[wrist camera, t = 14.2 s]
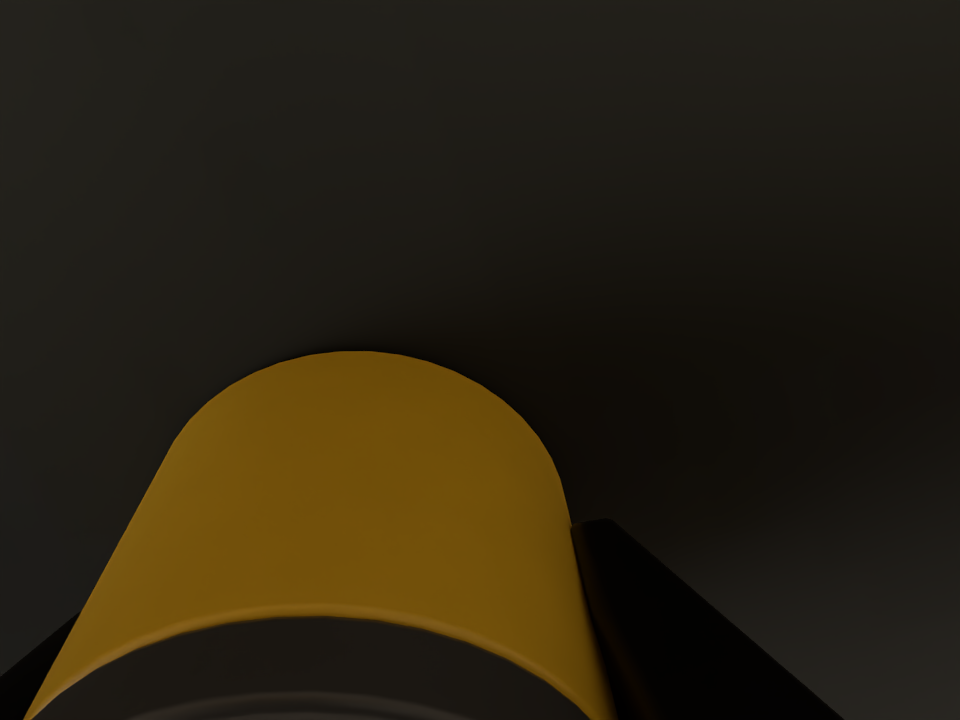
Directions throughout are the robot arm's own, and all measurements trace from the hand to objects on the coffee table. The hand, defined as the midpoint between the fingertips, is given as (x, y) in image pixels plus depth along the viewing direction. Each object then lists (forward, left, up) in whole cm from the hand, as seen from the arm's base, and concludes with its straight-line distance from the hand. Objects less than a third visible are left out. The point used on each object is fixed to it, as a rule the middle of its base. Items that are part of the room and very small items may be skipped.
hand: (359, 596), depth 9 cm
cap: (0, 0, -1) cm, 1 cm away
